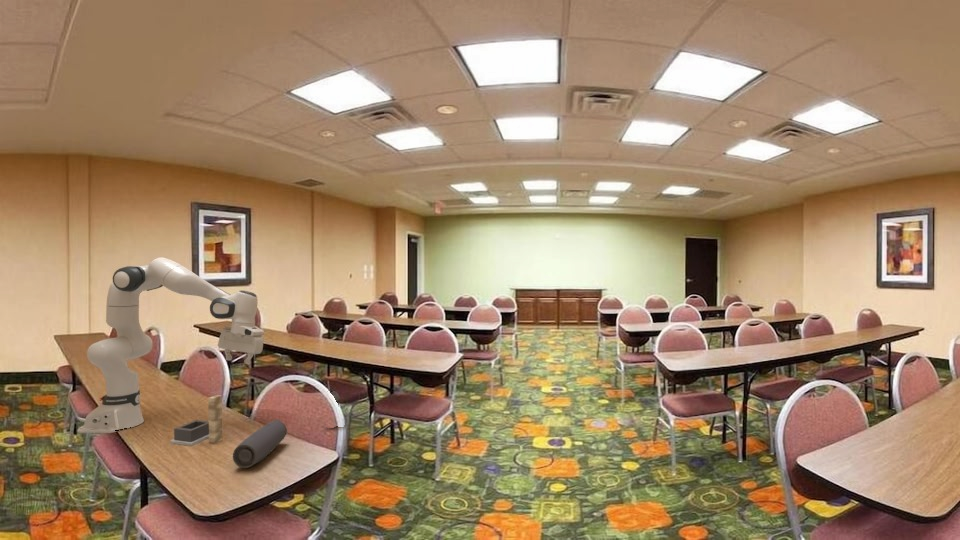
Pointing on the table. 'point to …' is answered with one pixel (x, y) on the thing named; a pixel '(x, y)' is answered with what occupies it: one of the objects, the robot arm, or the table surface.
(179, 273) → the robot arm
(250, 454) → the bluetooth speaker
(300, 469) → the table surface
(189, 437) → the grey hollow box
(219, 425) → the slat
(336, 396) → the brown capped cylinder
